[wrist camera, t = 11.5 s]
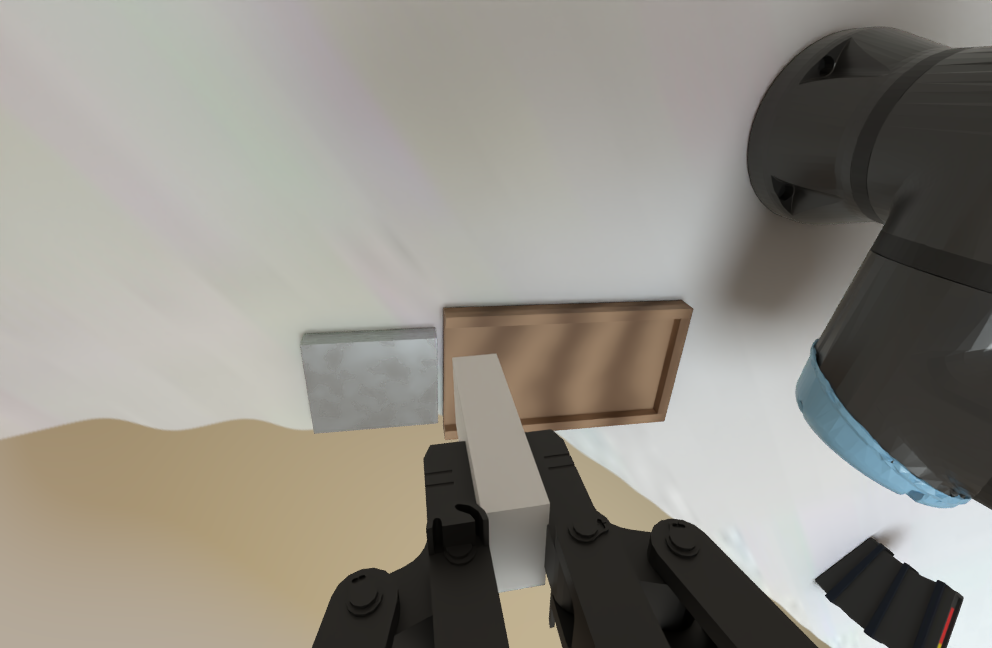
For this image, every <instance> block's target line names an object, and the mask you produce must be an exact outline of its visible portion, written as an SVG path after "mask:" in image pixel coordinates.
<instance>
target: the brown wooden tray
mask: <svg viewBox="0 0 992 648" xmlns="http://www.w3.org/2000/svg"><path fill="white" fill-rule="evenodd" d="M692 312H693V308H692V307H690V306H689V305H688V304H686V303H685V302H684V301H682V300H670V301H640V302H609V303H578V304H548V305H517V306H486V307H456V308H443V429H444V436H445V440H451V439H458V433H457V427H456V417H455V398H454V380H453V362H452V358H455V357H465V356H476V355H486V354H497V356H498V359H499V362H500V365H501V368H502V371H503V373H504V376H505V379H506V382H507V385H508V387H509V390H510V393H511V396H512V399H513V401H514V404H515V407H516V410H517V413H518V415H519V418H520V421H521V424H522V427H523V429H524V432H532V431H540V430H548V429H552V430H553V431H556V430H568V429H580V428H591V427H603V426H614V425H626V424H638V423H649V422H661V421H664V420H665V417H666V413H667V409H668V405H669V401H670V397H671V393H672V389H673V386H674V382H675V378H676V374H677V370H678V366H679V362H680V358H681V355H682V351H683V347H684V343H685V339H686V335H687V331H688V328H689V324H690V320H691V316H692Z"/></svg>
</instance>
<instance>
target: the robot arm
mask: <svg viewBox="0 0 992 648" xmlns="http://www.w3.org/2000/svg"><path fill="white" fill-rule="evenodd" d="M748 169H749V175H750V179H751V183H752V186H753V188H754V191H755V193H756V194H757V196H758V198H759V199H760V201H761V202H762V203H763V204H764V205H765V206H766V207H767V208H768V209H770V210H771V211H772V212H774V213H776V214H778V215H780V216H783V217H786V218H788V219H791V220H794V221H797V222H801V223H805V224H813V225H826V224H843V223H861V222H878V223H882V224H885V225H884V226H883V228H882V230H881V232H880V233H879V235H878V237H877V239H876V241H875V242H874V244H873V246H872V248H871V249H870V251H869V253H868V254H867V256H866V258H865V260H864V261H863V263H862V265H861V267H860V268H859V270H858V272H857V274H856V275H855V277H854V279H853V281H852V282H851V284H850V286H849V288H848V289H847V291H846V293H845V295H844V296H843V298H842V300H841V302H840V303H839V305H838V307H837V309H836V310H835V312H834V314H833V316H832V317H831V319H830V321H829V323H828V324H827V326H826V328H825V330H824V332H823V333H822V335H821V337H820V338H819V339H816V340H815V342H814V343H813V345H812V347H811V350H810V357H809V359H808V361H807V363H806V365H805V367H804V369H803V371H802V373H801V375H800V377H799V379H798V382H797V385H796V400H797V403H798V406H799V409H800V411H801V412H802V413H803V416H804V418H805V420H806V422H807V423H808V425H809V426H810V427H811V428H812V430H813V431H814V432H815V433H816V434H817V435H818V437H819V438H820V439H821V440H822V441H823V442H824V443H825V444H826V445H827V446H828V447H829V448H831V449H832V450H833V451H834V452H835V453H836V454H838V455H839V456H840V457H841V458H842V459H844V460H845V461H846V462H847V463H849V464H850V465H851V466H853V467H854V468H855V469H857V470H858V471H860V472H861V473H863V474H864V475H865V476H867V477H869V478H870V479H872V480H873V481H875V482H877V483H878V484H880V485H882V486H884V487H885V488H887V489H889V490H891V491H893V492H895V493H897V494H907V495H908V496H909V497H910V498H912V499H913V500H914V501H915V502H918V503H921V504H924V505H928V506H931V507H937V508H952V507H955V506H957V505H959V504H966V503H967V502H969V501H970V500H971V498H972V499H974V500H976V501H977V502H979V503H981V504H983V505H984V506H986V507H988V508H990V509H991V510H992V46H984V47H971V48H951V47H948V46H945V45H942V44H939V43H936V42H934V41H931V40H928V39H925V38H922V37H919V36H916V35H914V34H911V33H908V32H905V31H902V30H899V29H895V28H889V27H868V28H859V29H850V30H844V31H840V32H837V33H834V34H831V35H829V36H826V37H824V38H822V39H820V40H819V41H817V42H815V43H814V44H812V45H811V46H809V47H808V48H806V49H805V50H804V51H802V52H801V53H800V54H799V55H798V56H797V57H795V58H794V59H793V60H792V61H791V62H790V63H789V64H788V65H787V66H786V68H785V69H784V70H783V71H782V72H781V73H780V75H779V76H778V77H777V79H776V80H775V81H774V83H773V84H772V86H771V87H770V89H769V90H768V92H767V94H766V96H765V97H764V99H763V101H762V103H761V105H760V108H759V110H758V112H757V115H756V118H755V120H754V123H753V127H752V131H751V135H750V140H749V147H748ZM452 362H453V380H454V398H455V417H456V427H457V433H458V439H459V442H453V443H444V444H437V445H430V447H429V449H428V451H427V453H426V455H425V457H424V474H425V487H426V488H425V489H426V507H427V526H426V533H427V543H426V545H425V548H424V549H423V551H422V552H421V554H420V555H419V556H418V557H417V558H416V559H415V560H414V561H413V562H411V563H409V564H408V565H406V566H405V567H403V568H401V569H399V570H396V571H394V572H392V573H390V574H389V573H387V572H386V571H384V570H380V569H376V568H369V569H362V570H359V571H357V572H355V573H353V574H350V575H349V576H348V577H346V578H345V579H344V580H343V581H342V582H341V583H340V584H339V585H338V586H337V588H336V590H335V591H334V593H333V595H332V597H331V599H330V602H329V604H328V607H327V610H326V612H325V615H324V618H323V620H322V623H321V625H320V628H319V631H318V633H317V636H316V638H315V641H314V644H313V646H312V648H509V644H508V639H507V634H506V629H505V623H504V618H503V613H502V608H501V603H500V598H499V593H500V592H505V591H512V590H518V589H523V588H529V587H534V586H540V585H545V574H547V577H548V580H549V584H550V587H551V597H550V611H549V625H550V628H552V627H554V625H555V623H556V626H557V630H558V633H559V637H560V640H561V644H562V647H563V648H818V647H817V646H816V645H815V644H814V643H813V642H812V641H811V640H810V639H809V638H808V637H807V636H806V635H805V634H804V633H803V632H802V631H801V630H800V629H799V628H798V627H797V626H796V625H795V624H794V623H793V622H792V621H791V620H790V619H789V618H788V617H787V616H786V615H785V614H784V613H783V612H782V611H781V610H780V609H779V608H778V607H777V606H776V605H775V604H774V602H772V600H771V599H770V598H769V597H768V596H767V595H766V594H765V593H764V592H763V591H762V590H761V589H760V588H759V587H758V586H757V585H756V584H755V583H754V582H753V581H752V580H751V579H750V578H749V577H748V576H747V575H746V574H745V573H744V572H743V571H742V570H741V569H740V568H739V567H738V566H737V565H736V564H735V563H734V562H733V561H732V560H731V559H730V558H729V557H728V556H727V555H726V554H725V553H724V552H723V551H722V550H721V549H720V548H719V547H718V546H717V545H716V544H715V543H714V542H713V541H712V540H711V539H710V538H709V537H708V536H707V535H706V534H705V533H704V532H703V531H702V530H700V529H699V528H698V527H696V526H695V525H693V524H691V523H688V522H686V521H684V520H678V519H667V520H661V521H660V522H658V523H657V524H656V525H654V527H653V529H652V532H644V531H637V530H630V529H625V528H621V527H618V526H616V525H613V524H611V523H610V522H609V521H608V519H607V518H606V517H605V516H603V515H602V514H600V513H599V512H598V511H596V509H595V507H594V506H593V504H592V502H591V499H590V497H589V495H588V493H587V491H586V488H585V486H584V484H583V482H582V480H581V477H580V475H579V473H578V471H577V469H576V467H575V466H574V462H573V460H572V458H571V456H570V455H569V451H568V449H567V447H566V445H565V442H564V440H563V439H562V438H560V437H559V436H558V435H557V434H556V433H555V432H554V431H553V430H552V429H548V430H540V431H532V432H524V429H523V427H522V424H521V421H520V418H519V415H518V413H517V410H516V407H515V404H514V401H513V399H512V396H511V393H510V390H509V387H508V385H507V382H506V379H505V376H504V373H503V371H502V368H501V365H500V362H499V359H498V356H497V354H486V355H476V356H465V357H455V358H452Z"/></svg>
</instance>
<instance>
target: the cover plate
mask: <svg viewBox="0 0 992 648" xmlns="http://www.w3.org/2000/svg"><path fill="white" fill-rule="evenodd" d="M300 348H301V354H302V360H303V367H304V373H305V379H306V385H307V392H308V398H309V404H310V411H311V417H312V423H313V429H314V433H327V432H339V431H350V430H361V429H375V428H386V427H398V426H410V425H422V424H434V423H438V394H437V337H436V331H435V328H417V329H396V330H375V331H353V332H332V333H311V334H304V336H303V339H302V341H301V344H300Z"/></svg>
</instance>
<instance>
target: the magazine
mask: <svg viewBox="0 0 992 648" xmlns="http://www.w3.org/2000/svg"><path fill="white" fill-rule="evenodd" d="M893 556H894V554H893V553H892V552H891V551H890V550H889V549H887V548H886V547H885V546H884V545H882V544H881V543H880V544H879V543H878V542H876V541H875V540H874V539H872V538H869V539H868V540H867V541H865V542H864V543H863V544H861V545H860V546H859V547H858V548H856V549H855V550H854V551H852V552H851V553H850V554H848V555H847V556H846V557H844V558H843V559H842V560H840V561H839V562H838V563H837V564H835V565H834V566H833V567H831V568H830V569H829V570H827V571H826V572H825V573H823V574H822V575H821V576H819V577H818V578H817V579H816V582H817V583H818V584H819V586H820V587H821V588H822V589H823V590H824V591H825V592H826V593H827V594H826V595H825V596H826V597H827V598H828V600H829V601H830V602H832V603H833V604H835V605H837V606H838V607H840V608H841V609H842V610H843V611H844V612H845V613H846V614H847V615H848V616H849V617H850V618H851V619H853V620H854V621H855V622H856V623H857V624H859V625H860V626H861V627H862V628H864V629H865V630H864V633H866V634H867V635H868V636H869V637H871V638H873V639H874V640H876V641H878V642H880V643H881V644H882V643H883V644H884V645H886V646H887V647H888V648H947V645H948V642H949V639H950V637H951V634H952V631H953V628H954V625H955V622H956V619H957V616H958V614H959V611H960V608H961V605H962V602H963V599H964V598H963V596H962V595H960V594H959V593H958V592H956V591H954V590H953V589H951V588H950V587H949V586H948V585H946V584H945V583H944V582H942V581H939V580H937V582H934V581H932V580H930V579H927V578H925V577H923V576H921V575H919V573H918V572H917V571H916V570H915V569H913V568H912V567H911V566H910V565H908V564H907V563H904V564H902V563H901V562H899V561H898V560H897V559H895V558H894V557H893Z"/></svg>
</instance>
